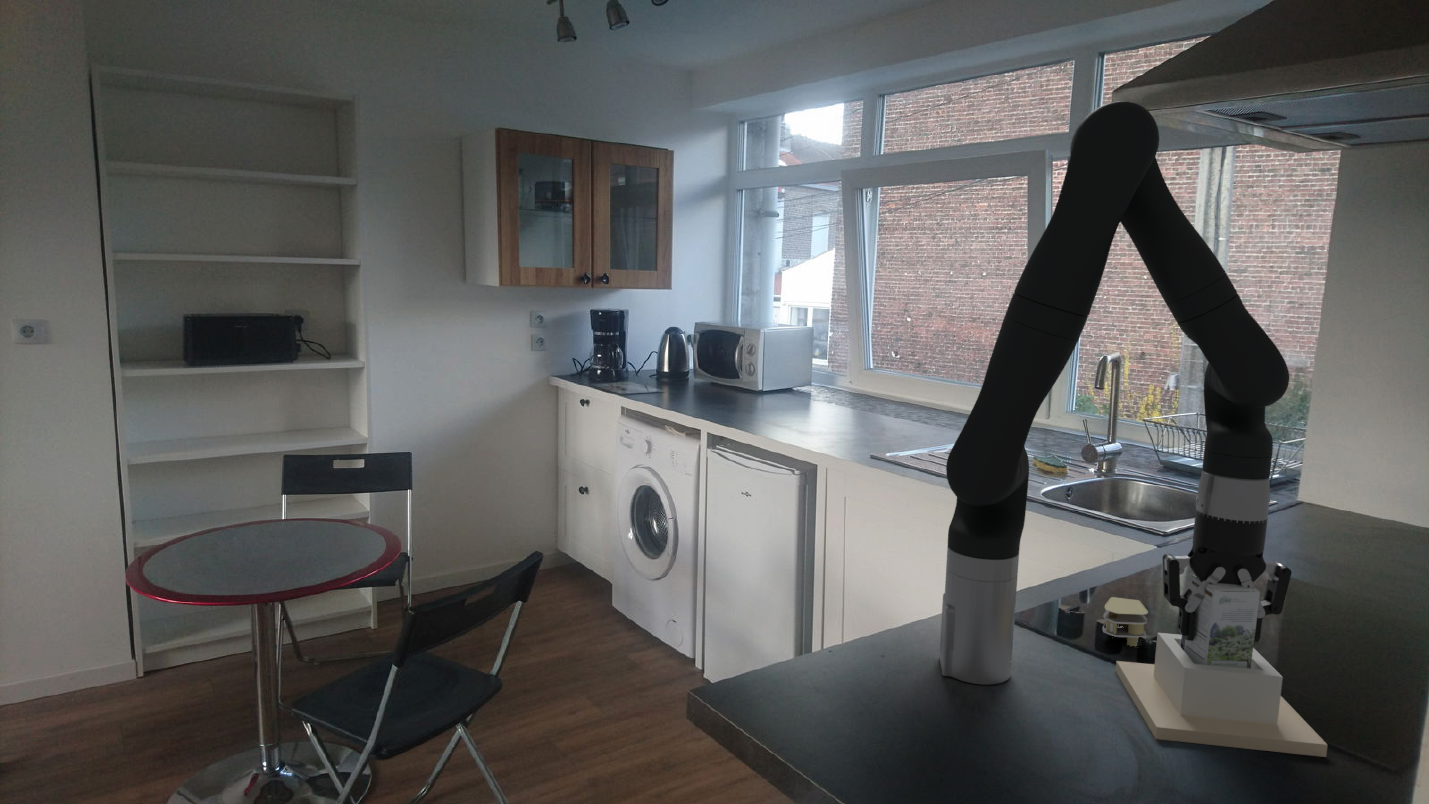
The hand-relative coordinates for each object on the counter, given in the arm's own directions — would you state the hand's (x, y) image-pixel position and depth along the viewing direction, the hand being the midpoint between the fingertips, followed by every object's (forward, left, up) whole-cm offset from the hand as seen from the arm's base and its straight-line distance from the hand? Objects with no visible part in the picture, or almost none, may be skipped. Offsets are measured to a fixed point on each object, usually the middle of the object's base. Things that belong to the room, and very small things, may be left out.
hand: (1217, 640), depth 107 cm
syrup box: (0, 0, -7) cm, 7 cm away
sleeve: (0, 0, -9) cm, 9 cm away
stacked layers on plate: (-5, +21, -10) cm, 24 cm away
